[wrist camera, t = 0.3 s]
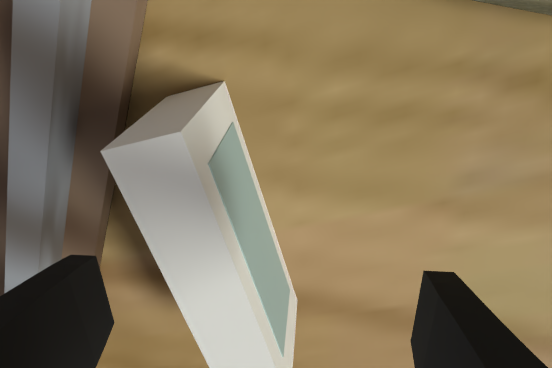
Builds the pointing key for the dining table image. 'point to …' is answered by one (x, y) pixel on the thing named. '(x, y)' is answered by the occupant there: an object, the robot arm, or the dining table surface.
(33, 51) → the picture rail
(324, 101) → the dining table surface
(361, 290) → the dining table surface
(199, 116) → the tall cream box
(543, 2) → the green stone slab
